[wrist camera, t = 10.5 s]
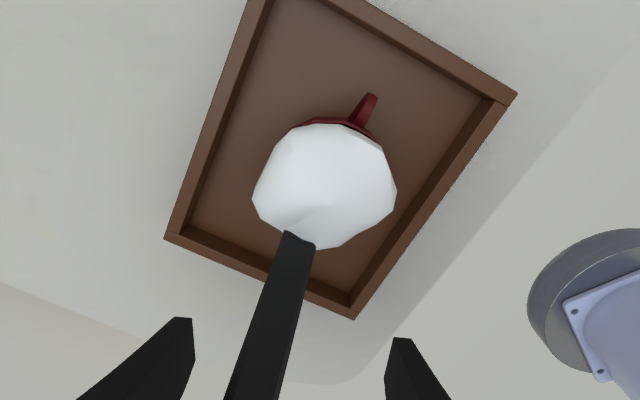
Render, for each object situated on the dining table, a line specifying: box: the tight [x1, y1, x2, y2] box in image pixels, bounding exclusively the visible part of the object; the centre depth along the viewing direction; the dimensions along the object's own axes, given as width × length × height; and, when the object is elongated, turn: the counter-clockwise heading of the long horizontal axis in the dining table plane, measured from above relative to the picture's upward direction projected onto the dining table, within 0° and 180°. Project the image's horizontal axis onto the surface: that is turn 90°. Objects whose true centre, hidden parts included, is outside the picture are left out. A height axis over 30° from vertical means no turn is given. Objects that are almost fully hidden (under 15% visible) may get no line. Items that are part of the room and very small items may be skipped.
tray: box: [163, 0, 518, 320], centre depth 18 cm, size 17×14×2 cm
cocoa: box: [223, 92, 397, 400], centre depth 13 cm, size 10×6×12 cm, turn 130°
